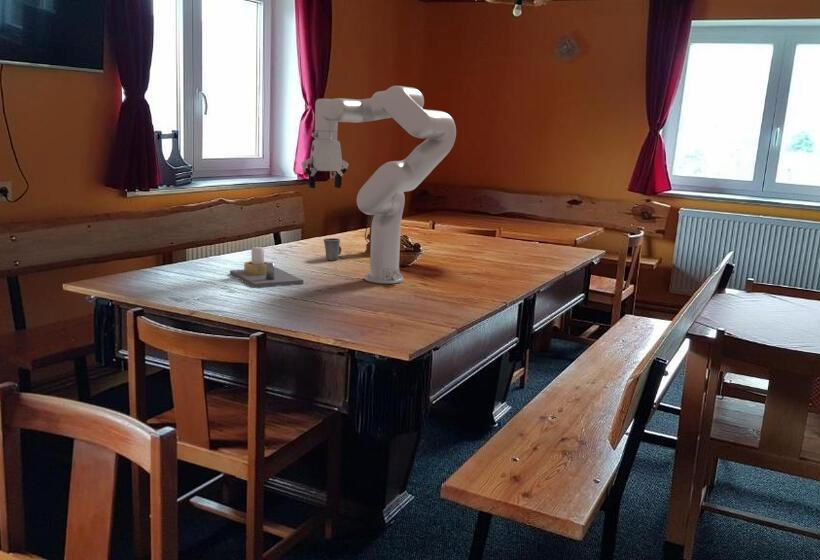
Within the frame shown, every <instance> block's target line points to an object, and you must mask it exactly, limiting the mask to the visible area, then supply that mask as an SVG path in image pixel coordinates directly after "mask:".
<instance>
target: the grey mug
mask: <svg viewBox="0 0 820 560" xmlns="http://www.w3.org/2000/svg"><path fill="white" fill-rule="evenodd" d="M340 241H341V238H338V237H337V238H335V237H334V238H324V239H323V243H324V248H325V258H326V260H327V261H330V262H333V261H337V260H338V259H339V255H341V254H342V246H340V243H341V242H340Z"/></svg>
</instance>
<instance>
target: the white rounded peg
mask: <svg viewBox="0 0 820 560" xmlns="http://www.w3.org/2000/svg"><path fill="white" fill-rule="evenodd" d="M251 261H252V265H264V262H265V247H261V246H253V247H251Z"/></svg>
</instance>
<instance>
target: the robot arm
mask: <svg viewBox="0 0 820 560" xmlns="http://www.w3.org/2000/svg"><path fill="white" fill-rule="evenodd" d="M424 105H425V98H424V94H423V93H422V92H421V91H420V90H419V89H417V88H416V87H412V86H411V87H410V86H403V85H392V86H390V87H389V88H387V89H386V90H380V91H376V92H375V93H374V94H372V96H371V97H370V98H369V97H368V98H362V99H356V98H355V99H354V98H341V97H339V98H317V99H316V100H315V104H314V107H315V108H314V132H311V137H313V138H314V140H312V143H311V149H310V156H309V158H307V159H306V160H304V161H303V162H301V166H302V168H303V171H304V172H305V174H307V176H308V187H309V188H310V189H316V176H315V175H316V174H317V172H318V171H319V172H334V173H335V176H334V188H337V189H341V187H342V181H343V180H342V179H343V178H342V177H343V176H344V174H345V173H347V170H348V167H349V165H350V164H349V162H347V161H346V160H345V159H343V158H342V147H341V142H340V141H339V140H338V129H339V128H338V127H339V126H338V125H339V123H354V124H355V123H356V124H357V123H365V122H374V121H379V120H384V119H391V118H392V119H393V120H394V121H395V122H396V123H397V124H398V125H400V126H401V127H402V129H404V130H405V131H406V132H407V133H408V134H409V135H411V136H412V137H414V138H417V139H425V140H424V141H422V142H421V143H420V144H418V145H416V147H415V148H414V149H413V150H412V151H411V152H410V153H409V154H408V156H407V157H405V158H404V159H402V160H393V161H392V160H391V161H387V162H385V163H384V164H382V165H381V166H379V167H378V168H377V170H375V172H374V173H373V174H372V175H371V176H370V177H369V178H368V179H367V181H365V183H364V184H363V185H362V187H361V188H360V189H359V191H358V192H357V196H356V205H357V207H358V208H357V209H359V211H360V212H361V213H363V214H365V215H368V216H369V215H374V218H373V221H372V227H371V251H370V255H369V256H370V257H369V259H370V261H369V273H367V274H365V275H364V280H365V281H366V282H369V283H375V284H383V285H385V284H388V285H389V284H390V285H391V284H399V283H402V282H403V281H404V277H403V274H402V273H400V250H401V249H400V248H401V230H402V220H403V218H402V217H403V213H404V208H405V204H406V203H405V202H406V201H405V200H406V199H405V198H406V197H405V193H406V192H412V191H414V190H415V189H416V188H417V187H419V185H420V184H421V183H422V182H423V181H424V180H425V179H426V178H427V177H428V176H429V175H430V174H431V173H432V171H433V170H434V169H435V168H436V167H437V166H438V165H439V164H440V163H441V162H442V161H443V159H444V158H445V157H447V156H448V154H449V153H450V152H451V150H452V148H453V147H454V144H455V142H456V136H457V127H456V123H455V120H454V118H453V117H452V116H451V115H450V114H449V113H447V112H446V111H442V110H439V109H438V110H436V109H426V108H425V109H424V108H423V107H424ZM308 165H310V166H309V167H310V168H309V167H308Z"/></svg>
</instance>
